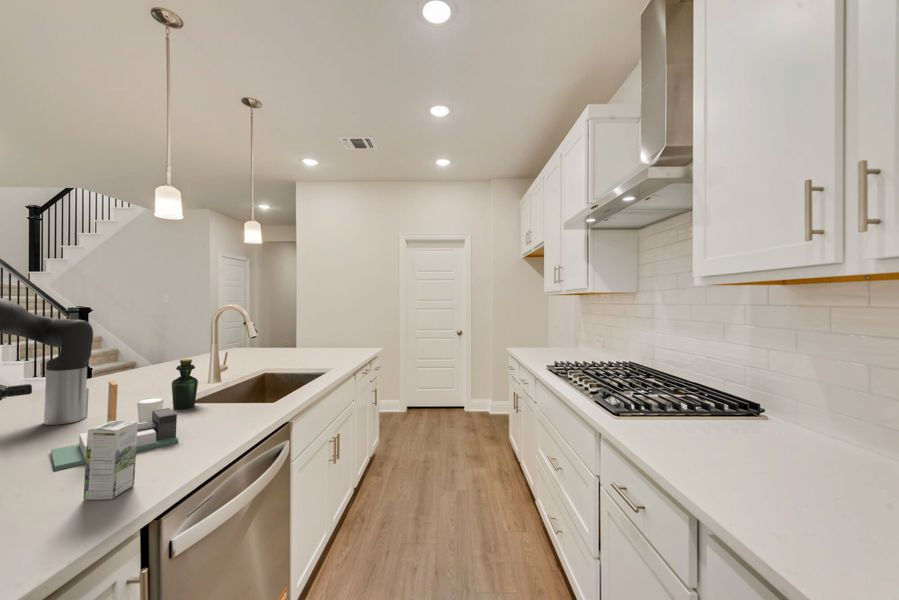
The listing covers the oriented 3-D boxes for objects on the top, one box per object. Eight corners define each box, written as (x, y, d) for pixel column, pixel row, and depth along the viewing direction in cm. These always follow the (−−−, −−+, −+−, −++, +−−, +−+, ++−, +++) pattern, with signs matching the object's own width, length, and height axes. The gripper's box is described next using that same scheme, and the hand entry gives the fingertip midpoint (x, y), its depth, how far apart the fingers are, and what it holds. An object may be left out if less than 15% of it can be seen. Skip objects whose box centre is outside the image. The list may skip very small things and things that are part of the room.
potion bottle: (196, 408, 134) (198, 360, 135) (169, 411, 130) (171, 362, 130) (197, 403, 141) (199, 357, 141) (171, 405, 137) (173, 358, 137)
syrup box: (107, 486, 79) (109, 420, 79) (135, 486, 79) (138, 420, 79) (82, 500, 73) (85, 429, 73) (113, 500, 73) (116, 429, 74)
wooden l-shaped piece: (110, 436, 95) (112, 385, 95) (106, 430, 99) (108, 381, 99) (168, 425, 105) (170, 378, 105) (163, 420, 108) (165, 375, 109)
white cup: (131, 422, 118) (132, 401, 118) (155, 416, 124) (156, 396, 124) (144, 425, 115) (145, 404, 115) (167, 419, 122) (168, 399, 122)
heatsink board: (54, 470, 85) (55, 438, 85) (51, 453, 94) (52, 424, 94) (178, 442, 103) (179, 416, 103) (165, 430, 112) (166, 406, 112)
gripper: (-107, 392, 68) (32, 378, 82) (-93, 380, 77) (31, 368, 90) (-107, 431, 68) (32, 410, 82) (-94, 414, 77) (30, 398, 90)
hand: (31, 388), depth 86 cm, fingers closed
